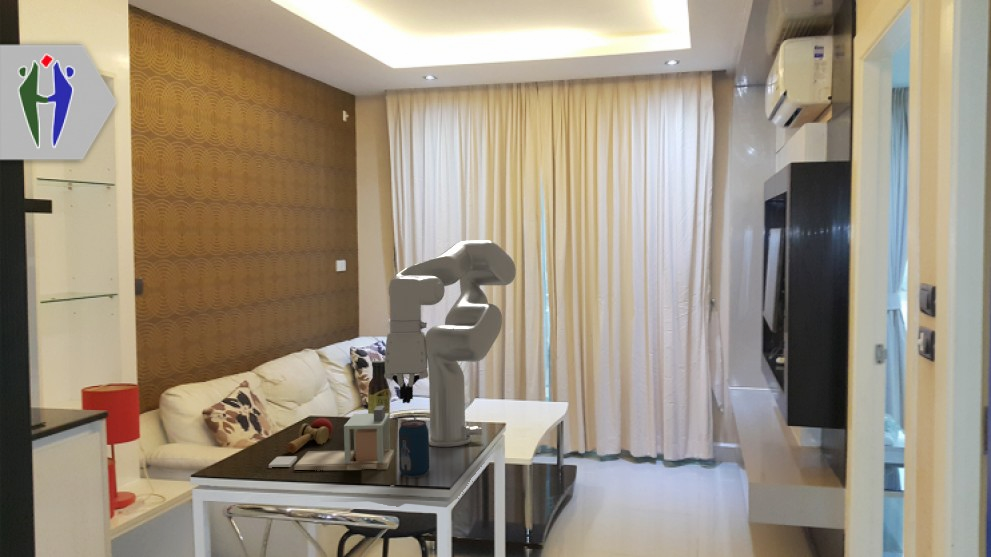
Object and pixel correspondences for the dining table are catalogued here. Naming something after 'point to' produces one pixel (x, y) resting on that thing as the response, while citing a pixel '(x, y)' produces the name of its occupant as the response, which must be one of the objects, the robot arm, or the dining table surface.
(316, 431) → the kendama
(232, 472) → the dining table surface
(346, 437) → the pale green table stand
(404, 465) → the soda can
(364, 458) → the block
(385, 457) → the puzzle board
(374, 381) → the sauce bottle
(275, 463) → the ceramic trivet
